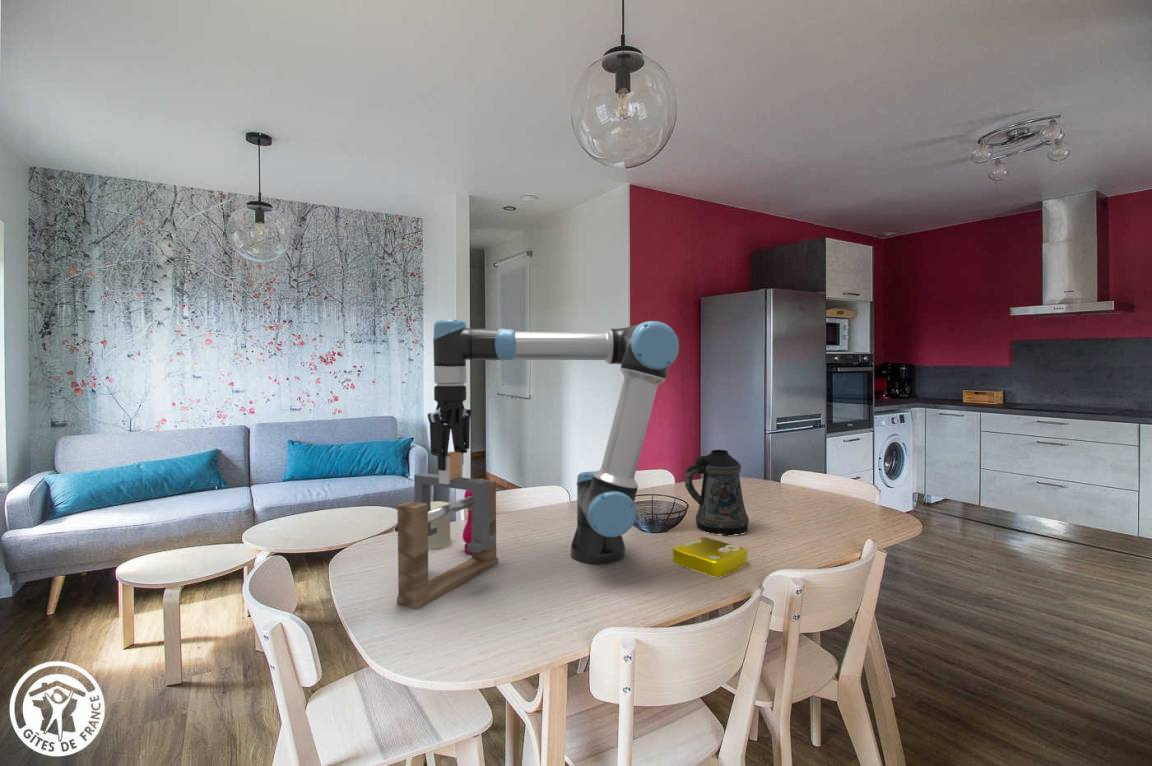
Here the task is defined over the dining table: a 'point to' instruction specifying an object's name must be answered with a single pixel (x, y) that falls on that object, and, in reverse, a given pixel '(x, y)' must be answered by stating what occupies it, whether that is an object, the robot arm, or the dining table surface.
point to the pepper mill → (468, 526)
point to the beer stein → (718, 494)
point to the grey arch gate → (456, 481)
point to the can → (440, 529)
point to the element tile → (710, 556)
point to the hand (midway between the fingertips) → (451, 481)
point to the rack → (415, 551)
